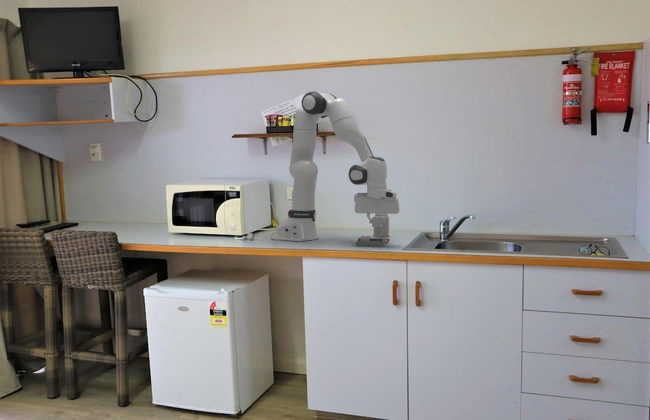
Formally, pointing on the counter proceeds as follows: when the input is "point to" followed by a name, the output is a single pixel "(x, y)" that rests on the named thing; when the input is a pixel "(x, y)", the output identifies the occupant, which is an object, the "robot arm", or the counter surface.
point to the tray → (386, 240)
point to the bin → (371, 243)
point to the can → (382, 227)
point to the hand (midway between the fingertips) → (377, 223)
